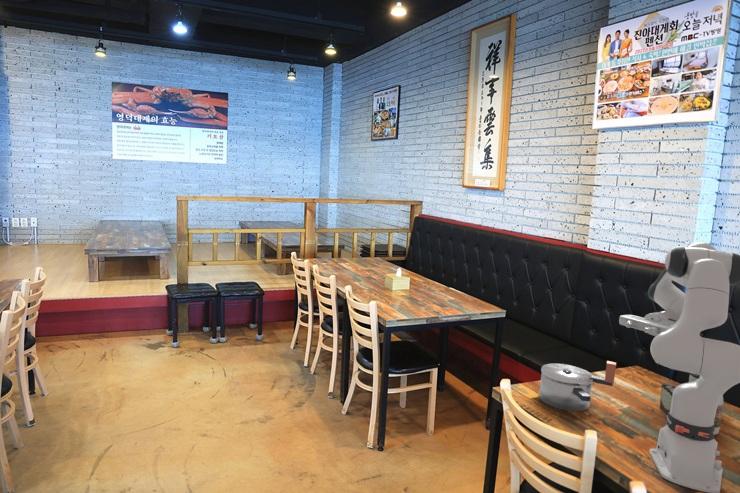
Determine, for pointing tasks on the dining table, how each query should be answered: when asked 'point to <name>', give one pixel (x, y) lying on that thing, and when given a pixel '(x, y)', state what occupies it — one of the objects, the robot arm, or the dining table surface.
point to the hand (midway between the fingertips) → (636, 327)
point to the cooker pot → (565, 395)
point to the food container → (666, 397)
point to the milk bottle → (718, 415)
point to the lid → (578, 374)
